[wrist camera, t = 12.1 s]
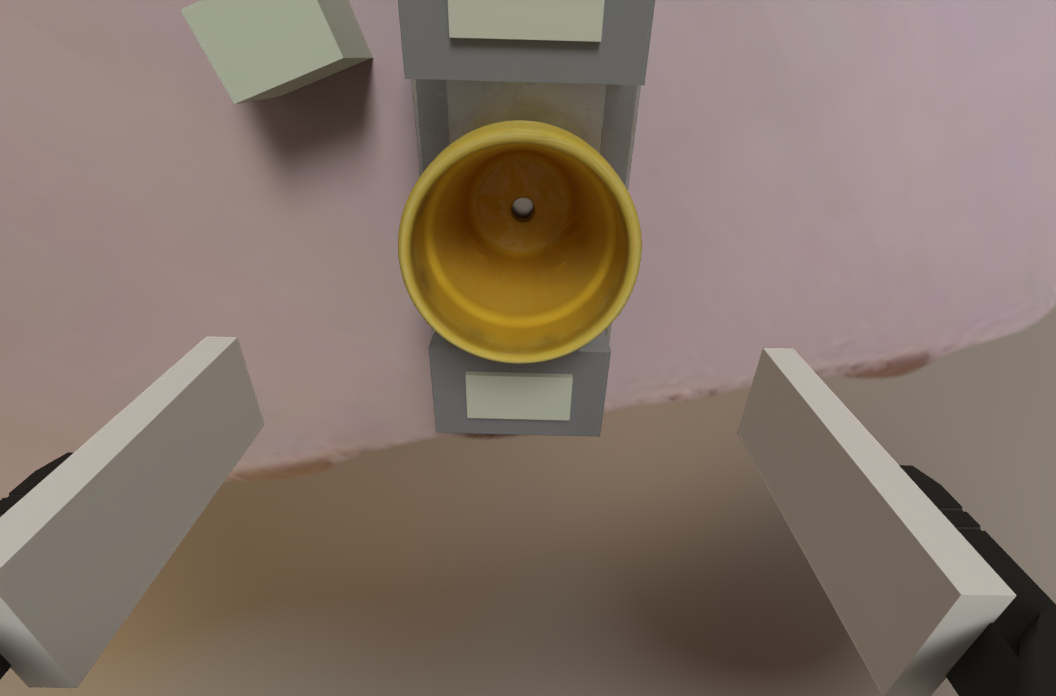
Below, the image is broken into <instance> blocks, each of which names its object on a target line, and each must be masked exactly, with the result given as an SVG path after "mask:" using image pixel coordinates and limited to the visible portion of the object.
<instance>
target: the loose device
mask: <svg viewBox="0 0 1056 696" xmlns="http://www.w3.org/2000/svg"><path fill="white" fill-rule="evenodd" d="M180 11H181V12H182V14H183V16H184V17H185V19H186V21H187V23H188V24H189V26H190V28H191V30H192V31H193V33H194V35H195V37H196V38H197V40H198V42H199V44H200V45H201V47H202V49H203V51H204V52H205V54H206V56H207V57H208V59H209V61H210V63H211V64H212V66H213V68H214V70H215V71H216V73H217V75H218V77H219V78H220V80H221V82H222V84H223V85H224V87H225V89H226V91H227V92H228V94H229V96H230V98H231V99H232V101H233V103H234V104H238V103H244V102H251V101H257V100H263V99H269V98H275V97H280V96H282V95H285V94H287V93H289V92H292V91H294V90H297V89H299V88H301V87H304V86H306V85H309V84H311V83H313V82H316V81H318V80H321V79H323V78H325V77H328V76H330V75H332V74H335V73H337V72H340V71H342V70H344V69H347V68H349V67H352V66H354V65H356V64H359V63H361V62H364V61H366V60H368V59H371V58H373V57H372V54H371V52H370V50H369V47H368V45H367V43H366V40H365V38H364V36H363V33H362V31H361V29H360V26H359V24H358V22H357V19H356V17H355V15H354V12H353V10H352V8H351V5H350V3H349V1H348V0H201V1H198V2H196V3H194V4H192V5H190V6H188V7H186V8H184V9H181V10H180Z"/></svg>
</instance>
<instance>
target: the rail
mask: <svg viewBox="0 0 1056 696" xmlns="http://www.w3.org/2000/svg"><path fill="white" fill-rule="evenodd" d="M412 86H413V98H414V110H415V122H416V134H417V146H418V159H419V171H420V176H421V175H422V173H423V172H424V171H425V169H426V168H427V167H428V166H429V164H430V163H431V162H432V161H433V160H434V159H435V158H436V157H437V156H438V155H439V154H440V153H441V152H442V151H443V150H444V149H445V148H446V147H448V146H449V145H450V144H452V143H453V142H454V141H456V140H457V139H459V138H461V137H462V136H464V135H465V134H467V133H469V132H471V131H473V130H476V129H478V128H481V127H483V126H487V125H490V124H493V123H498V122H504V121H513V120H524V121H536V122H542V123H546V124H550V125H553V126H556V127H559V128H561V129H564V130H566V131H568V132H570V133H572V134H574V135H576V136H577V137H579V138H580V139H582V140H584V141H585V142H586V143H588V144H589V145H590V146H591V147H593V148H594V149H595V150H596V151H597V152H598V153H599V154H600V155H601V156H602V157H603V158H604V159H605V160H606V161H607V162H608V163H609V164H610V165H611V167H612V168H613V169H614V171H615V172H616V173H617V174H618V176H619V177H620V179H621V181H622V182H623V184H624V185H625V187H626V189H627V190H628V186H629V178H630V170H631V162H632V154H633V145H634V137H635V129H636V121H637V113H638V105H639V97H640V88H641V85H612V84H576V83H540V82H504V81H468V80H432V79H412ZM512 209H513V212H514V214H515V215H516V216H517V217H519V218H522V219H523V218H528V217H529V216H530V215H531V214H532V212H533V209H534V206H533V203H532V201H531V200H529V199H528V198H519V199H517V200H516V201H515V202H514V203H513V207H512ZM611 324H612V323H611ZM611 324H610V325H609V326H608V327H607V328H606V329H605V332H606V336H607V340H608V344H609V341H610V332H611ZM434 332H435V330H434V329H433V335H434Z"/></svg>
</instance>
